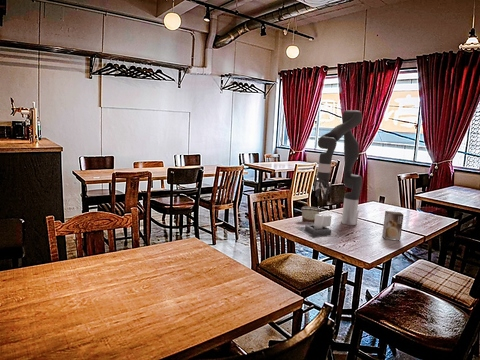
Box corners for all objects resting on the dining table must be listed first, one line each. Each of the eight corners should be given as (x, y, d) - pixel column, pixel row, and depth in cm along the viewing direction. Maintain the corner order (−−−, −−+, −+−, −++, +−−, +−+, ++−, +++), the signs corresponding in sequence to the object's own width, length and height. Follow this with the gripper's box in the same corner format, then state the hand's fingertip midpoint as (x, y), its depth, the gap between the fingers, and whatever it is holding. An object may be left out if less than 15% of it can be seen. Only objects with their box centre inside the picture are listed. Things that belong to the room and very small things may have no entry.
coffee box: (397, 237, 225) (401, 212, 222) (400, 241, 218) (404, 214, 216) (381, 236, 226) (385, 210, 223) (384, 239, 219) (387, 213, 217)
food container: (317, 221, 249) (319, 207, 247) (318, 224, 243) (320, 209, 241) (299, 219, 250) (300, 205, 248) (299, 222, 244) (301, 207, 242)
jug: (316, 232, 220) (318, 216, 218) (311, 230, 224) (313, 214, 223) (331, 231, 224) (333, 215, 222) (326, 229, 228) (328, 213, 227)
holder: (321, 227, 236) (322, 221, 235) (341, 237, 218) (342, 231, 217) (294, 228, 228) (295, 223, 228) (312, 239, 210) (313, 233, 210)
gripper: (336, 173, 212) (333, 200, 214) (322, 169, 225) (319, 195, 227) (325, 173, 209) (322, 201, 212) (312, 169, 222) (309, 195, 224)
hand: (321, 198), depth 219 cm, fingers open, 8 cm apart
